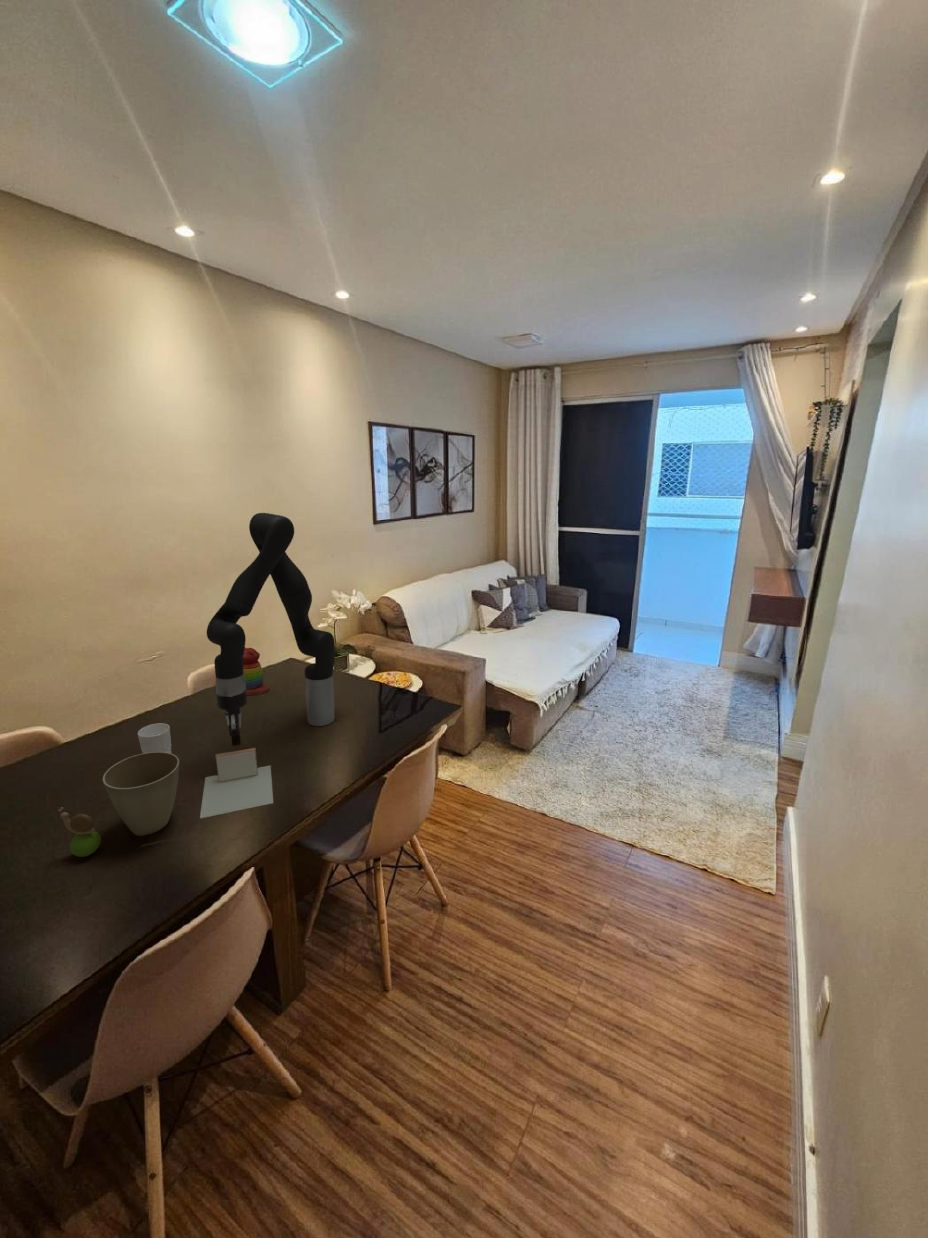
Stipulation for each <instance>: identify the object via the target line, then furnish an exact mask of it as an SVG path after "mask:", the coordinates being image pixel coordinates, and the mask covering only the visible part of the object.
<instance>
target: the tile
mask: <svg viewBox="0 0 928 1238" xmlns="http://www.w3.org/2000/svg"><path fill="white" fill-rule="evenodd" d="M257 761H258V760H257V748H256V747H252V748H247V749H246V748H245V749H240V750H234V751H227V752H221V753H216V754H215V762H216V763H215V764H216V771H217V772H216V773H217V775H218V781H219V782H223V781H228V780H233V779H239V778H244V777H249V776H255V775H258V769H257V768H258V762H257Z"/></svg>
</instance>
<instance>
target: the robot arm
mask: <svg viewBox="0 0 928 1238" xmlns="http://www.w3.org/2000/svg"><path fill="white" fill-rule="evenodd" d="M248 526H249V527H248V528H249V535H250V537H251V539H252V541H253V543H254V545H255V547H256V548H257V549H258V552H259V553H258V555H257V556H256V557H255V559H254V560H253V561H252V562H251V563H250V564H249V566H247V567H246V568H245V569H244V570H243V571H242V572H241V573H240V574H239V575H238V576H237V578H236V579H235V581H234V582H233V584H232V585H231V587H230V590H229V593H228V595H227V597H226V599H225V601H224V603H223V604H222V605H221V606H220V607H219V609H217V612H215V614H214V615H213V616H212V618H210V621H209V622H208V625H207V628H206V638H207V639H208V641H210V642H211V643H212V644H215V645H217V646H219V647H220V653H219V654H218V655H216V656H215V658H214V663H213V664H214V672H215V693H216V700H217V701H216V703H217V707H218V709H220V710H223V711H225V720H226V722H227V723H226V724H227V729H228V732H229V735H230V736H229V737H231V745H232V747H235V746H241V743H242V742H241V727H242V708H243V707H244V706H246V705H247V703H248V695H246V684H245V678H244V673H243V662H242V658H243V654H244V648H246V633H245V630H244V628H243V627H242V626H241V625H240V624H238V622H239V620H240V618H242V617H247V616H249V615H250V614H251V612H252V611H253V608H254V606H255V604H256V602H257V599H258V598H259V596H260V592H261V591H262V589H263V587H264V585H265V583H266V581H267V579H268V578H269V577H271V579H272V581H273V583H274V585H275V588H276V591H277V593H278V596H279V598H280V601H281V603H282V606H283V607H284V610H285V612H286V615H287V617H288V620H289V623H290V626H291V628H292V631H293V636H294V640H295V644H296V646H297V648H298V650H299V652H300V653H302V654H303V655H305V656H308V657H311V658H312V657H313V658H315V659H314V661H315V662H314V663H311V664H309V665H307V666H306V667H305V668H304V680H305V681H304V684H305V685H304V686H305V699H306V719H307V720H306V721H307V723H308V724H309V725H310V726H314V727H324V726H328V725H330V724H332V723H333V722H334V721H335V720H334V719H335V693H334V668H335V654H336V653H335V652H336V651H335V650H336V647H335V646H336V644H335V643H336V642H335V637H334V635H333V633H331V632H330V631H326V630H321V629H316V628H314V626H313V625H312V622H311V620H310V618H309V612H310V609H311V607H312V601H313V595H312V591H311V588H310V586H309V583H308V580H307V579H306V577H305V575H304V573H303V572H302V571H301V569H299V567H298V566H297V565H296V564H295V563H294V561H293V560H292V559H291V558H290V557H289V556H288V554H287V553H286V551H287V549H288V548H289V547H290V545H291V543H292V541H293V539H294V537H295V526H294V524H293V522H292V521H291V519H290V518H288V517H287V516H284V515H280V514H273V513H270V512H258V513H255V514H254V515H253V516H252V517H251V519H250V521H249V525H248Z"/></svg>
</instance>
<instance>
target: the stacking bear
mask: <svg viewBox="0 0 928 1238" xmlns="http://www.w3.org/2000/svg"><path fill="white" fill-rule="evenodd" d="M260 657H261V654H260V652H258V651H257V650H256V649H254V648H252V647H245V648H244V654H243V658H242V662H243V673H244V678H245V684H246V695H247V696H256V695H261V694H266V693H268V692H269V691H270V687H269V686H268V685H265V684H264V683H263V681H264V671H263V668H262V665H261V662H260V661H259V659H260Z"/></svg>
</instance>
